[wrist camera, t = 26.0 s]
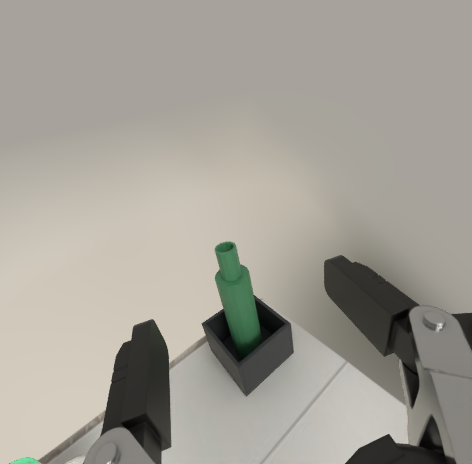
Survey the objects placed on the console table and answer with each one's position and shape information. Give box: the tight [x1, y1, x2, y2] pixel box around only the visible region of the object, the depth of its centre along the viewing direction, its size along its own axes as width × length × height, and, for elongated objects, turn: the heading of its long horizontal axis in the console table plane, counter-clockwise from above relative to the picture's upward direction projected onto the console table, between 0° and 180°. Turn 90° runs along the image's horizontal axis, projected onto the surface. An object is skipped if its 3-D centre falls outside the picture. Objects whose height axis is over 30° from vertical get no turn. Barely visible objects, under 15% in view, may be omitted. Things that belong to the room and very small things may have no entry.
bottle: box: [215, 242, 263, 360], centre depth 40 cm, size 5×5×23 cm
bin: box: [202, 296, 294, 396], centre depth 44 cm, size 11×11×8 cm
